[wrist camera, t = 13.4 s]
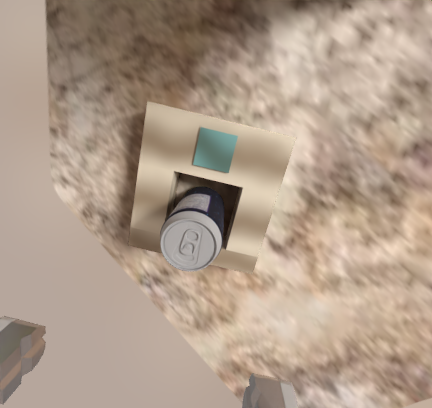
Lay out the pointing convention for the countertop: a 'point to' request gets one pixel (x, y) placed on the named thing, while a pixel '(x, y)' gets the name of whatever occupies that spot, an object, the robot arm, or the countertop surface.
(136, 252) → the countertop surface
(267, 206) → the socket board
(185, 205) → the beverage can
